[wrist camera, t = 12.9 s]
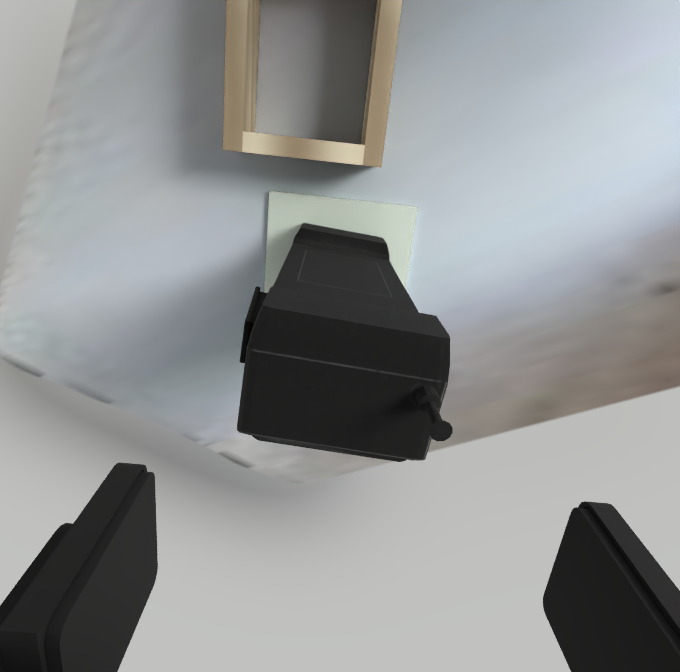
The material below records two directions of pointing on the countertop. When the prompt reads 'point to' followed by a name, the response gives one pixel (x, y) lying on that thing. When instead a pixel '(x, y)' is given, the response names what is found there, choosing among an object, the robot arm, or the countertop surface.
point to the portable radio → (343, 354)
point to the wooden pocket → (244, 139)
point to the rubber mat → (337, 226)
